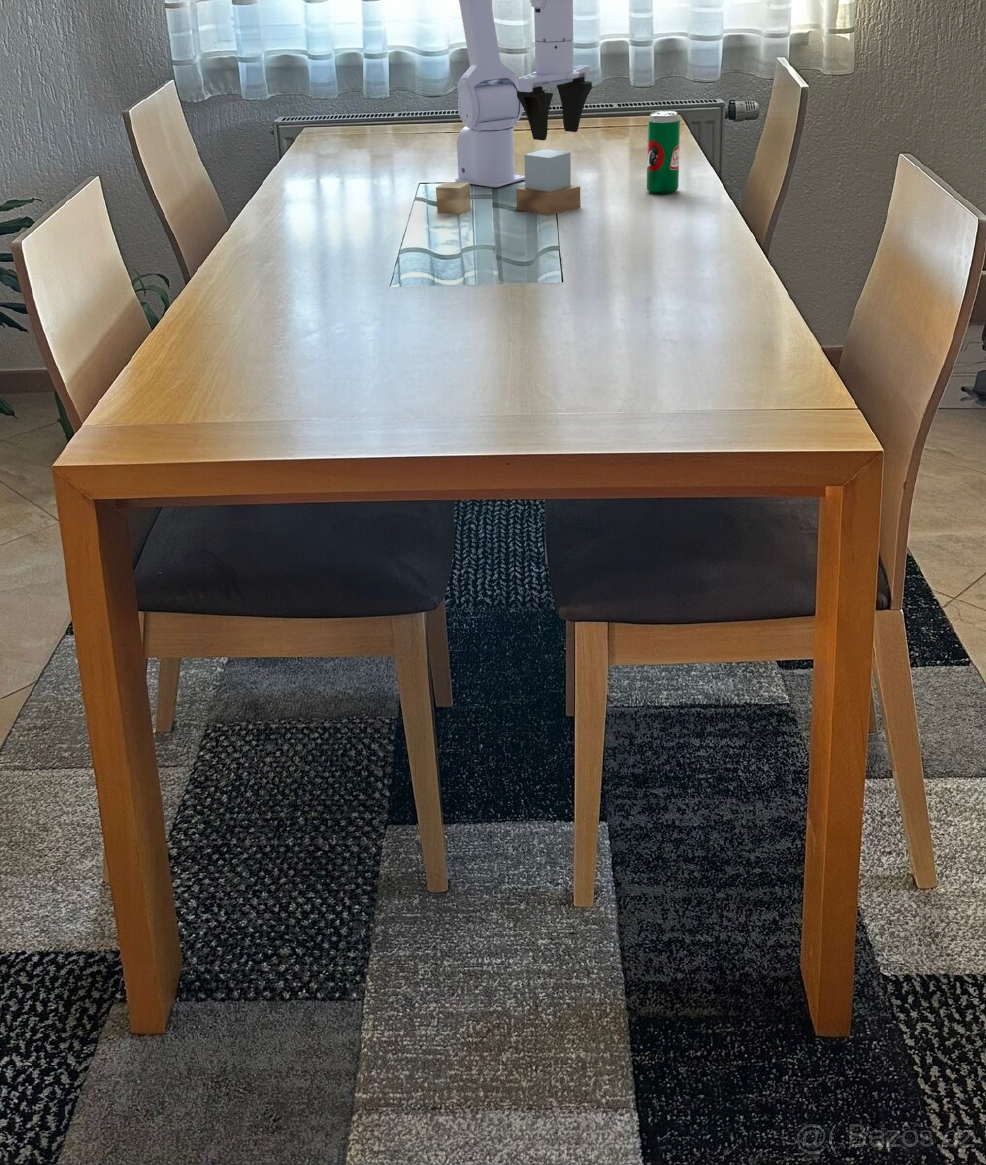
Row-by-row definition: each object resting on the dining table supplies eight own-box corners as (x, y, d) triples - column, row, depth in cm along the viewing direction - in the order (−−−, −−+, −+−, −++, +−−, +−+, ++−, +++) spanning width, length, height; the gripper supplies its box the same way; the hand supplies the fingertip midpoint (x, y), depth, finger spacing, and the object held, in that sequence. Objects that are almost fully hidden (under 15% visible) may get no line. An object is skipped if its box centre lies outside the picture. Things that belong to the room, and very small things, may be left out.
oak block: (437, 213, 201) (435, 187, 199) (447, 207, 204) (445, 181, 202) (461, 214, 199) (459, 188, 197) (470, 208, 202) (469, 182, 200)
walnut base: (516, 211, 201) (516, 188, 199) (548, 202, 205) (547, 180, 203) (548, 217, 196) (548, 194, 194) (580, 209, 200) (580, 186, 198)
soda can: (677, 195, 204) (679, 115, 198) (645, 195, 205) (646, 116, 199) (679, 188, 208) (681, 110, 203) (648, 188, 209) (649, 110, 204)
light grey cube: (525, 187, 199) (524, 154, 196) (545, 182, 202) (545, 148, 200) (549, 191, 196) (549, 157, 193) (570, 185, 199) (570, 152, 197)
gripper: (543, 47, 184) (545, 145, 190) (605, 35, 193) (605, 129, 200) (506, 44, 188) (509, 141, 195) (568, 33, 197) (569, 125, 204)
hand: (555, 135), depth 197 cm, fingers open, 7 cm apart
